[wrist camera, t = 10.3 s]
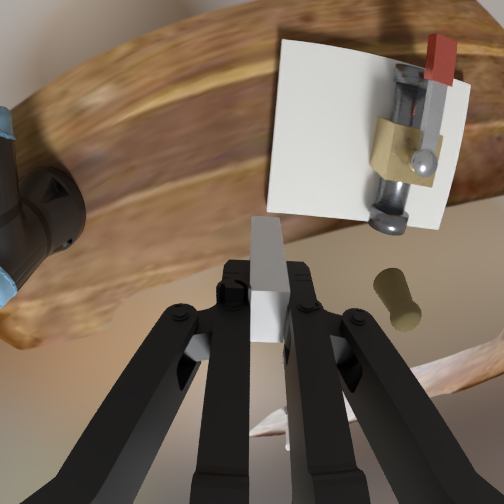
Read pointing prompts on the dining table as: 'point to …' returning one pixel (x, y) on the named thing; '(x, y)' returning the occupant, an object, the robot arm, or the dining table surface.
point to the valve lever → (434, 102)
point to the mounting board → (346, 135)
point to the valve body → (399, 151)
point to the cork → (397, 299)
